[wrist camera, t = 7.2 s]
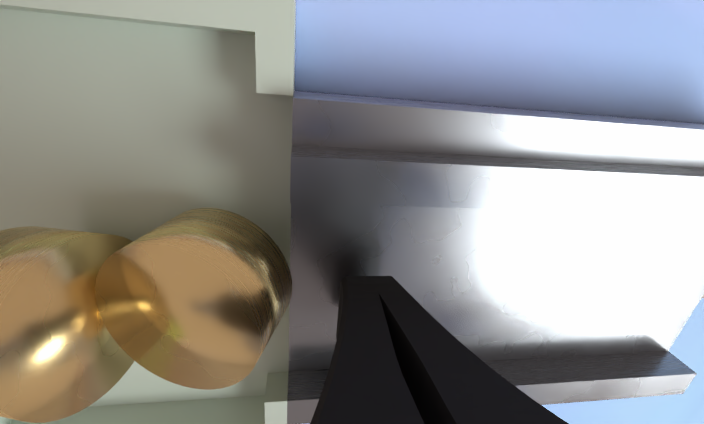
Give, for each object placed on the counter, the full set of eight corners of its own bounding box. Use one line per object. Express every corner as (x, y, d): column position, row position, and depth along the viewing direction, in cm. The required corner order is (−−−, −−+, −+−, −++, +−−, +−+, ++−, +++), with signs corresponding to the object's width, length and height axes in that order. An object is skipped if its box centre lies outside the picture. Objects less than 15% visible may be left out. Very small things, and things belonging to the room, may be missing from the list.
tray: (288, 401, 14) (287, 438, 12) (7, 419, 12) (-30, 464, 11) (295, 3, 8) (294, -9, 7) (-229, -62, 6) (-370, -95, 5)
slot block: (603, 349, 15) (669, 412, 12) (289, 365, 13) (286, 446, 10) (719, 125, 11) (854, 145, 8) (294, 90, 9) (291, 103, 6)
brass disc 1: (39, 466, 7) (-40, 447, 7) (171, 324, 10) (114, 315, 11) (-67, 315, 5) (-166, 298, 5) (135, 206, 9) (69, 199, 9)
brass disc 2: (289, 344, 10) (260, 406, 8) (166, 315, 10) (112, 368, 8) (295, 222, 8) (260, 265, 6) (149, 195, 9) (77, 227, 7)
